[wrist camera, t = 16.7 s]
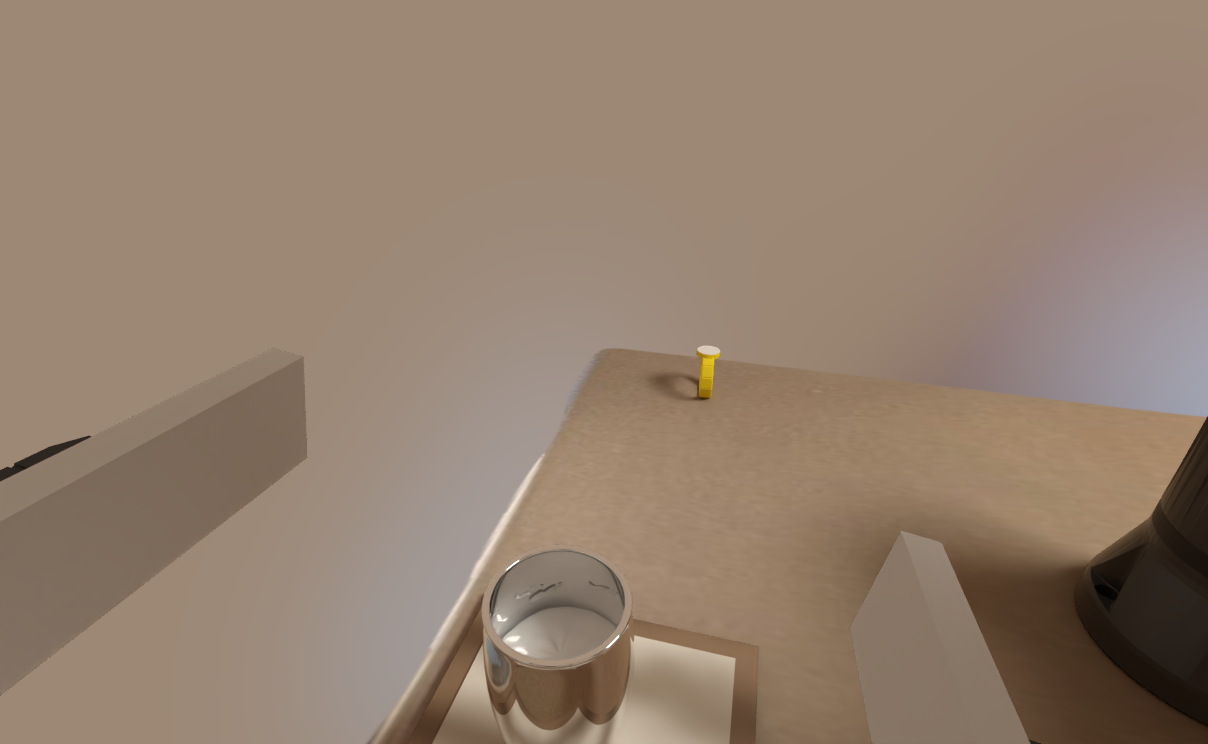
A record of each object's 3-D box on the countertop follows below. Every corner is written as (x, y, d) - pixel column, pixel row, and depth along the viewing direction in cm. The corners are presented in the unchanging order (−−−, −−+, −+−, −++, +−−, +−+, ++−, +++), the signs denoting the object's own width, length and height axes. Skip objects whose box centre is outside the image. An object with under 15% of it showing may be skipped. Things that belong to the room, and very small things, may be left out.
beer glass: (478, 782, 33) (445, 593, 26) (573, 701, 37) (568, 520, 30) (555, 898, 29) (542, 708, 21) (654, 791, 33) (670, 602, 26)
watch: (693, 382, 77) (697, 339, 74) (715, 384, 77) (719, 341, 74) (693, 403, 71) (696, 357, 69) (716, 405, 71) (720, 359, 69)
